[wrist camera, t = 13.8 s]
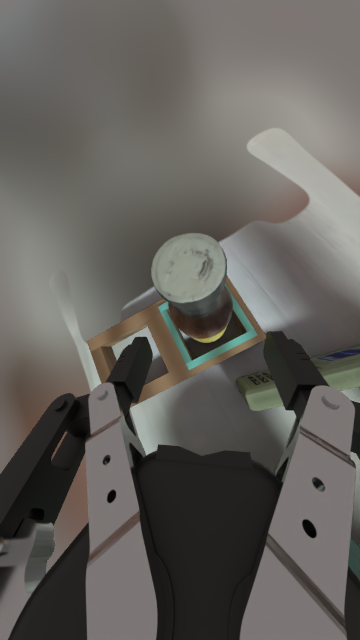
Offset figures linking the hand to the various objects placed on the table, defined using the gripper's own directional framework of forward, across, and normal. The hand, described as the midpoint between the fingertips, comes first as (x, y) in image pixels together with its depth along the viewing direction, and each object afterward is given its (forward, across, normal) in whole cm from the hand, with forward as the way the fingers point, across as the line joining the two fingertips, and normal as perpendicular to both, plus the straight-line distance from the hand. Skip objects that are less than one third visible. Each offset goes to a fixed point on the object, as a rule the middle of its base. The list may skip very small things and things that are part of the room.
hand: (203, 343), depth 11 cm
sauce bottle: (+14, 0, +9) cm, 17 cm away
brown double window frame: (+12, +6, +11) cm, 17 cm away
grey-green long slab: (+9, -16, +14) cm, 24 cm away
